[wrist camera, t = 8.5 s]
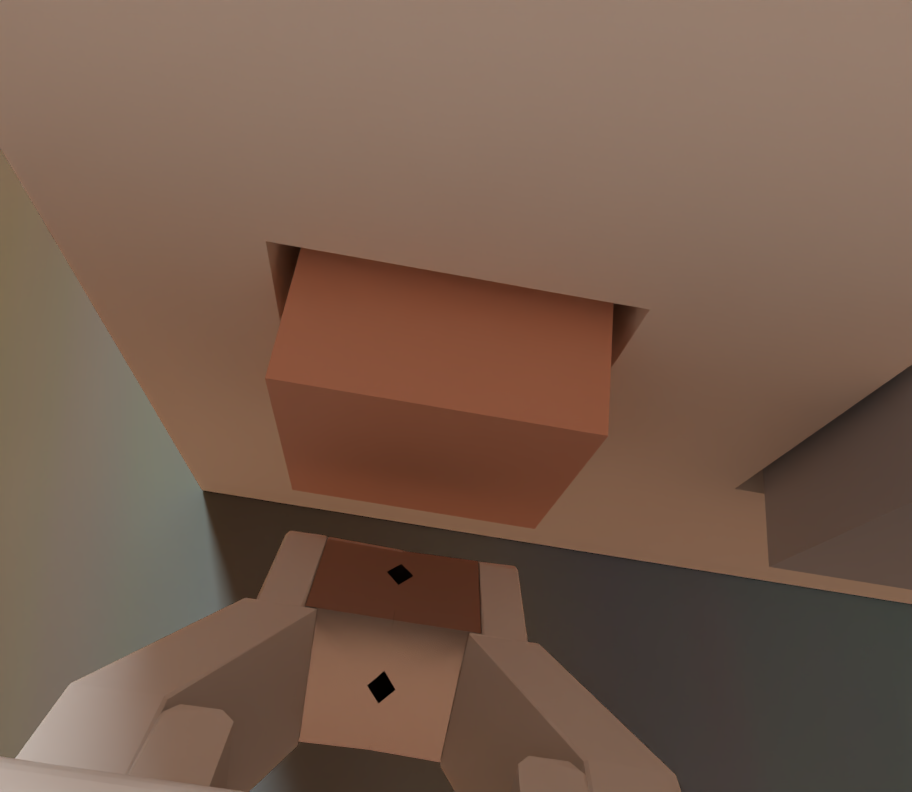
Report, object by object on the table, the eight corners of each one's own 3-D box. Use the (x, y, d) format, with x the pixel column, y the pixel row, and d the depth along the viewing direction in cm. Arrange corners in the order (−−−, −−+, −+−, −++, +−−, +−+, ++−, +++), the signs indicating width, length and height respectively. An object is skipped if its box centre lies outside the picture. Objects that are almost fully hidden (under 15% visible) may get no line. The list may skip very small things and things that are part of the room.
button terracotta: (292, 489, 12) (264, 377, 8) (324, 356, 13) (311, 206, 10) (534, 529, 12) (608, 435, 9) (545, 394, 13) (615, 262, 10)
